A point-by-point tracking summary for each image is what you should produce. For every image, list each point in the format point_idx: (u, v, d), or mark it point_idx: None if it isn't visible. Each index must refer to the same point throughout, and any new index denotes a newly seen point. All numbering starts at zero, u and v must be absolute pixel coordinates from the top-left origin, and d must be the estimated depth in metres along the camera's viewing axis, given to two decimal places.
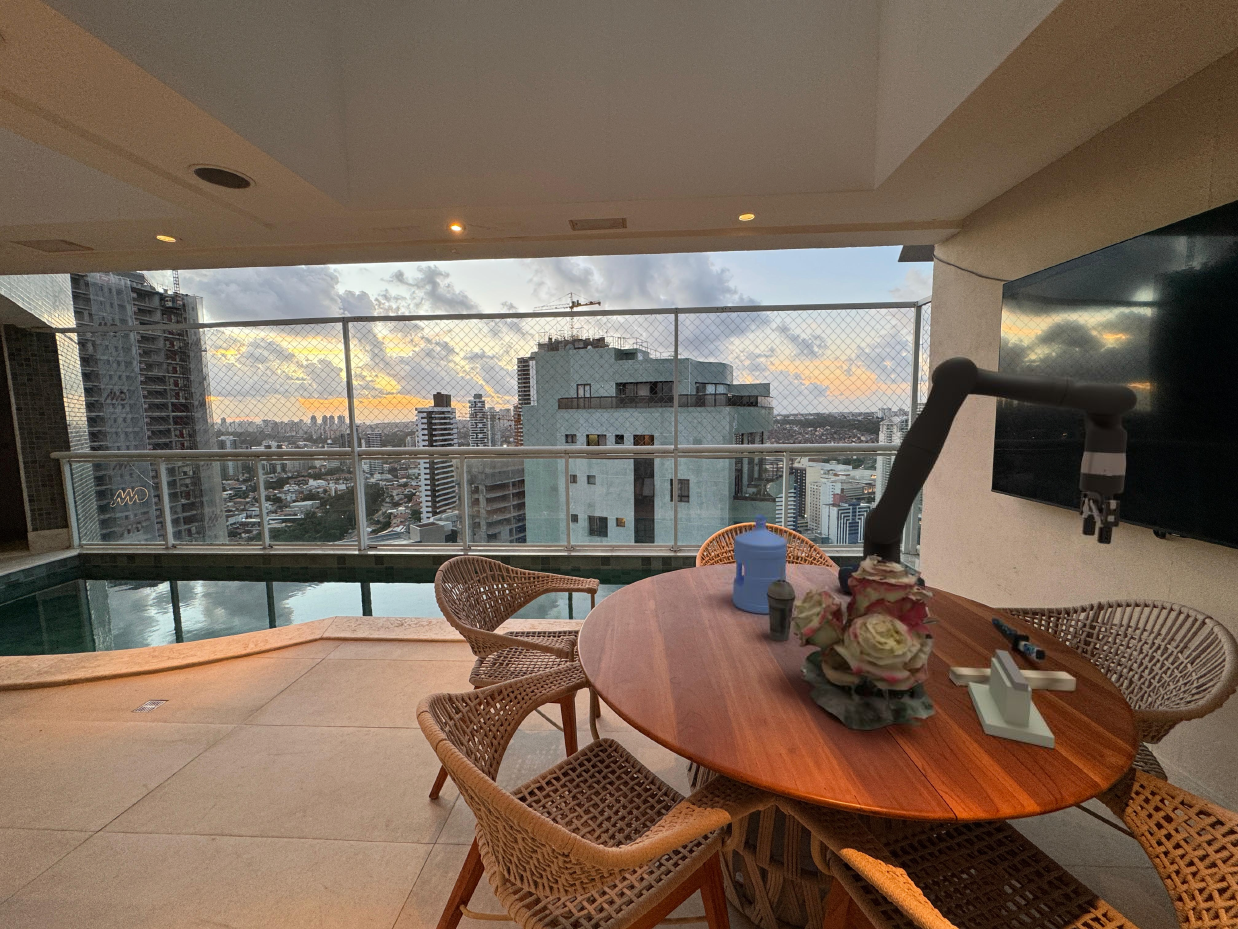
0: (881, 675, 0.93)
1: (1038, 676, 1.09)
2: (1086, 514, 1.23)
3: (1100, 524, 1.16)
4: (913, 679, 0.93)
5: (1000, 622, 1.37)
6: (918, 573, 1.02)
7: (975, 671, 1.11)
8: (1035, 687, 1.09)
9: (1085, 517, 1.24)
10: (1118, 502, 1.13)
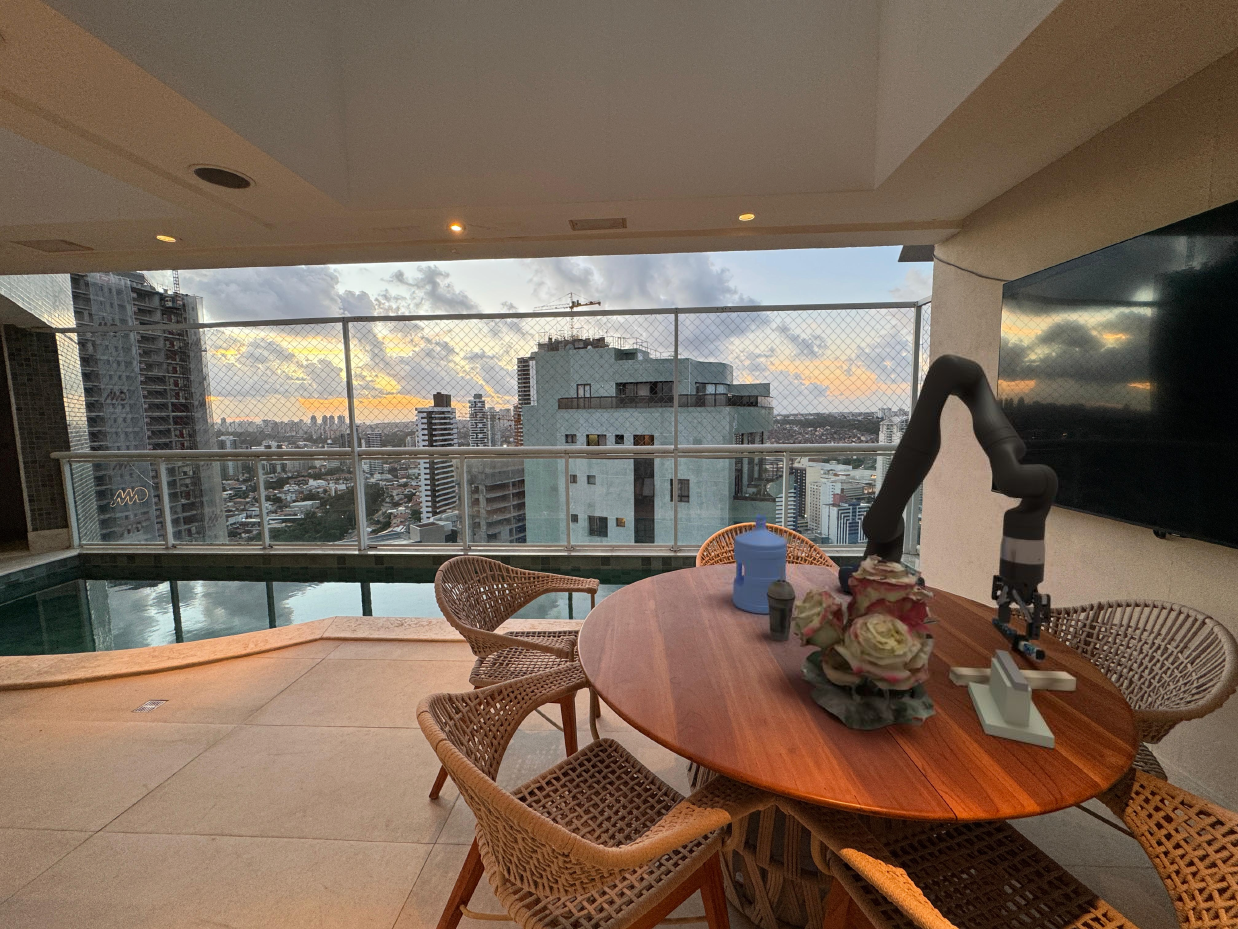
0: (882, 675, 0.93)
1: (1038, 676, 1.09)
2: None
3: None
4: (914, 679, 0.93)
5: None
6: (918, 573, 1.02)
7: (975, 671, 1.11)
8: (1035, 687, 1.09)
9: None
10: None
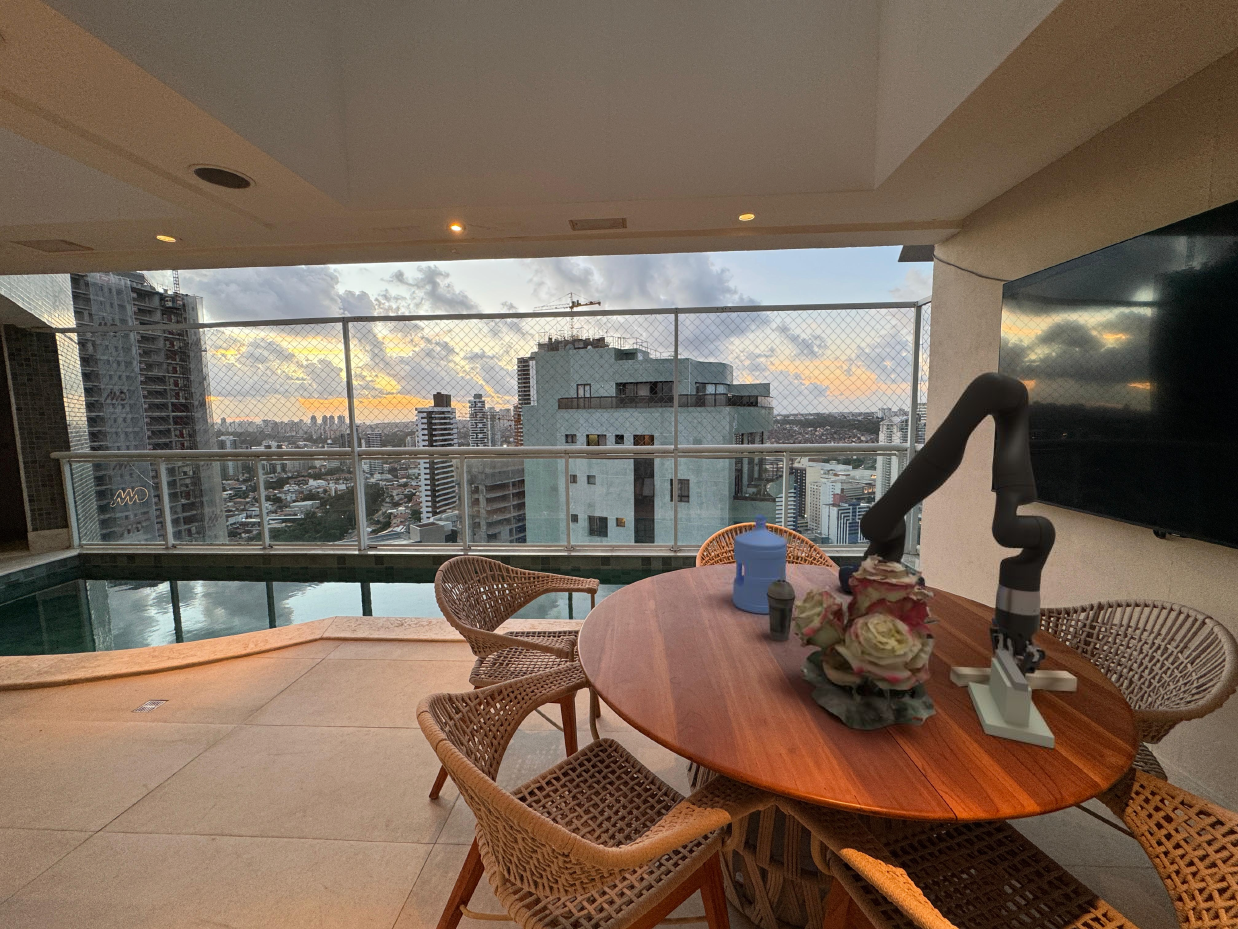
0: (882, 675, 0.93)
1: (1039, 675, 1.09)
2: None
3: None
4: (914, 679, 0.93)
5: None
6: (919, 573, 1.02)
7: (976, 671, 1.11)
8: (1036, 686, 1.09)
9: None
10: None
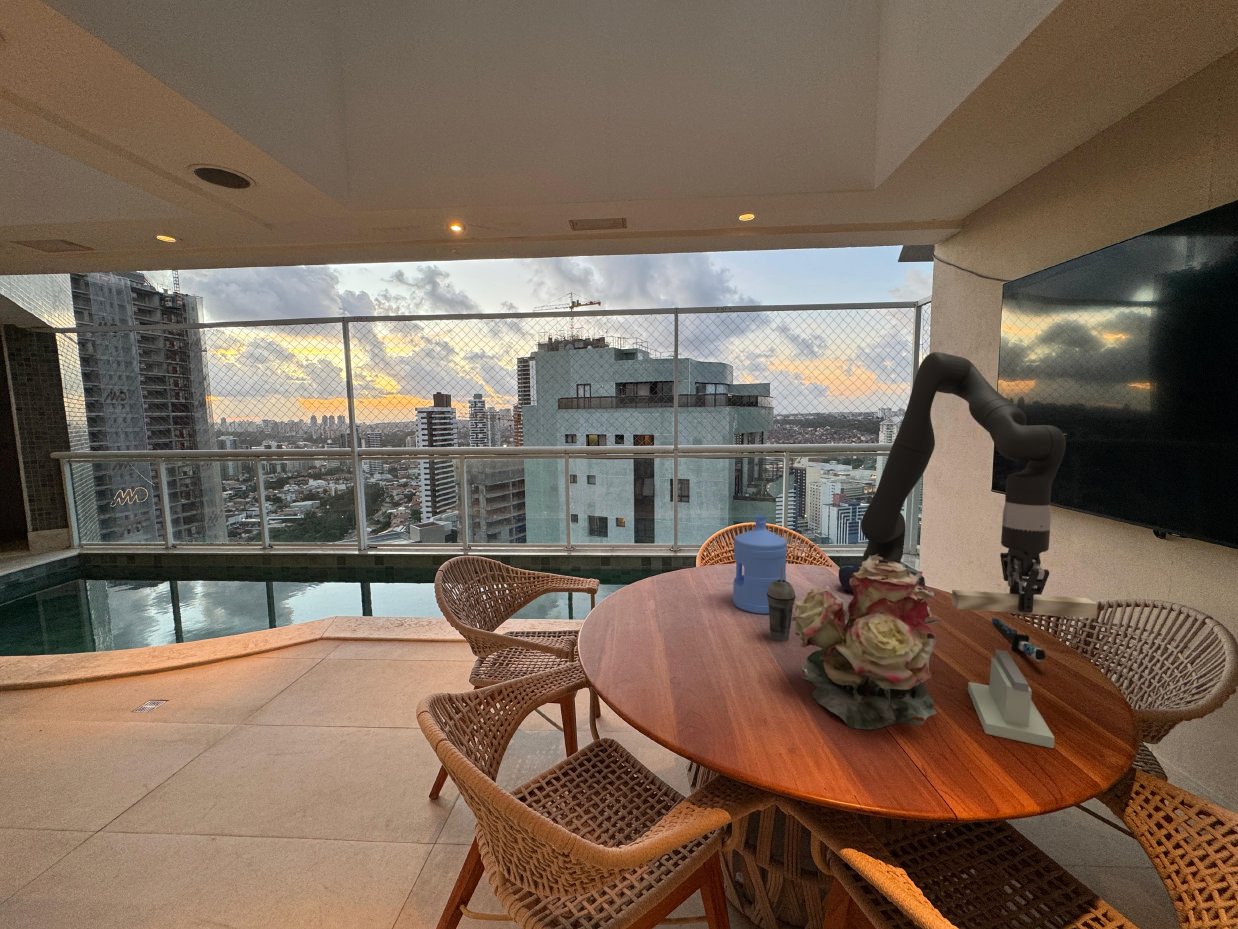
0: (883, 675, 0.93)
1: (1052, 600, 1.01)
2: None
3: None
4: (915, 679, 0.93)
5: (1000, 622, 1.37)
6: (919, 573, 1.02)
7: (980, 593, 1.04)
8: (1048, 611, 1.00)
9: None
10: None
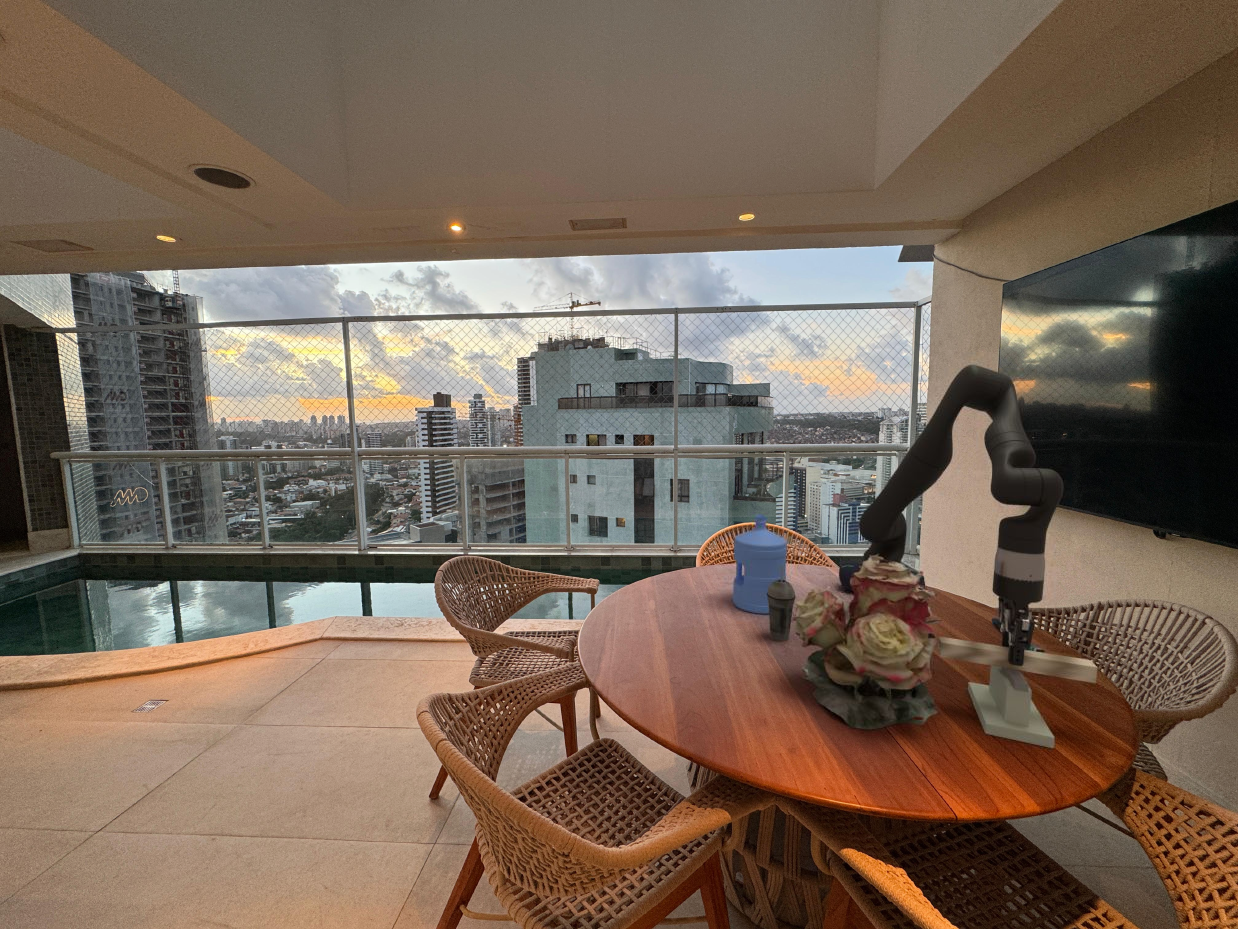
0: (884, 675, 0.93)
1: (1046, 658, 0.95)
2: None
3: None
4: (916, 678, 0.93)
5: None
6: (920, 573, 1.02)
7: (967, 643, 1.01)
8: (1041, 670, 0.95)
9: None
10: None
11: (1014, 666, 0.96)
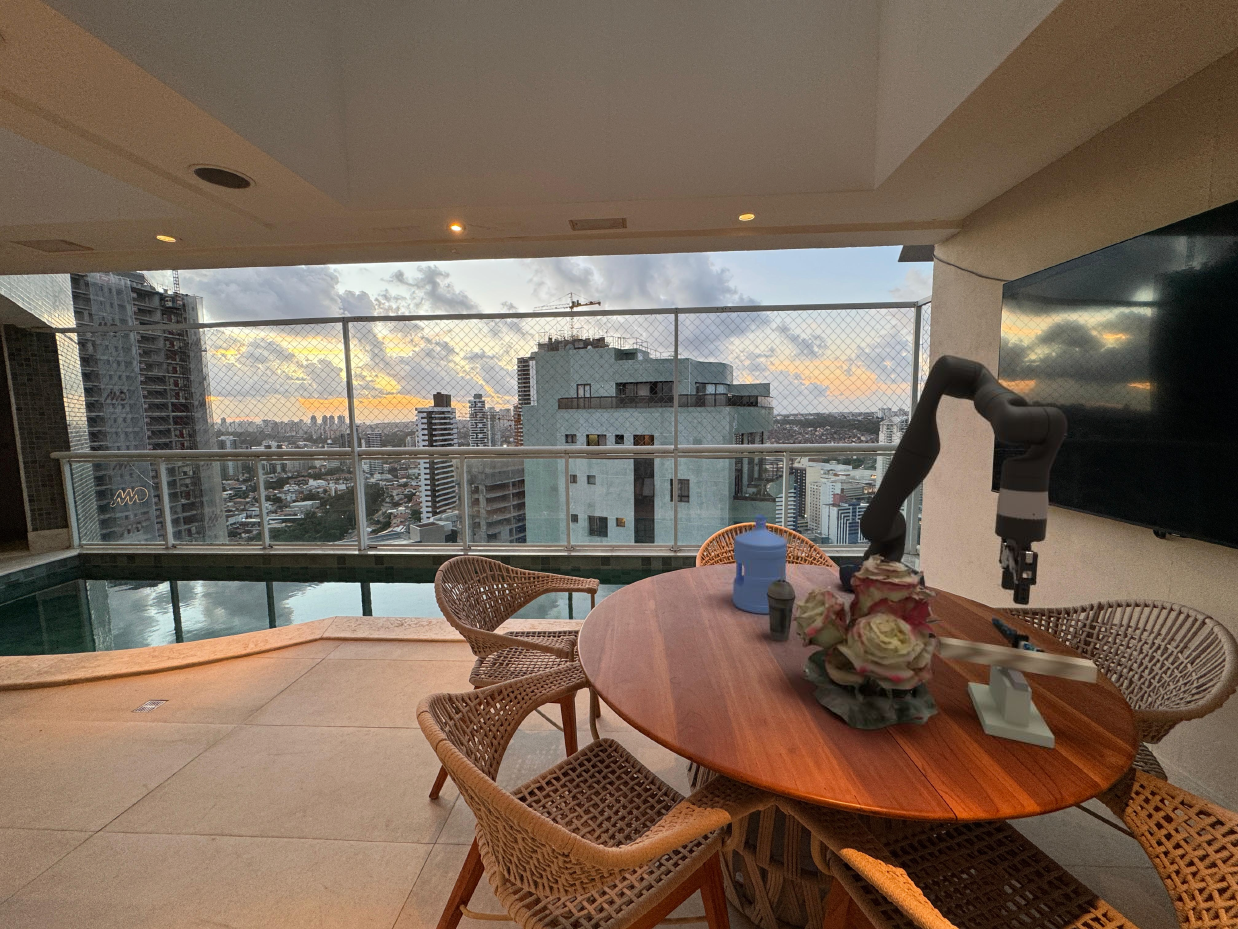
0: (885, 675, 0.93)
1: (1046, 658, 0.95)
2: None
3: None
4: (917, 678, 0.93)
5: (1000, 622, 1.37)
6: (921, 572, 1.02)
7: (967, 643, 1.01)
8: (1041, 670, 0.95)
9: None
10: None
11: (1014, 666, 0.96)
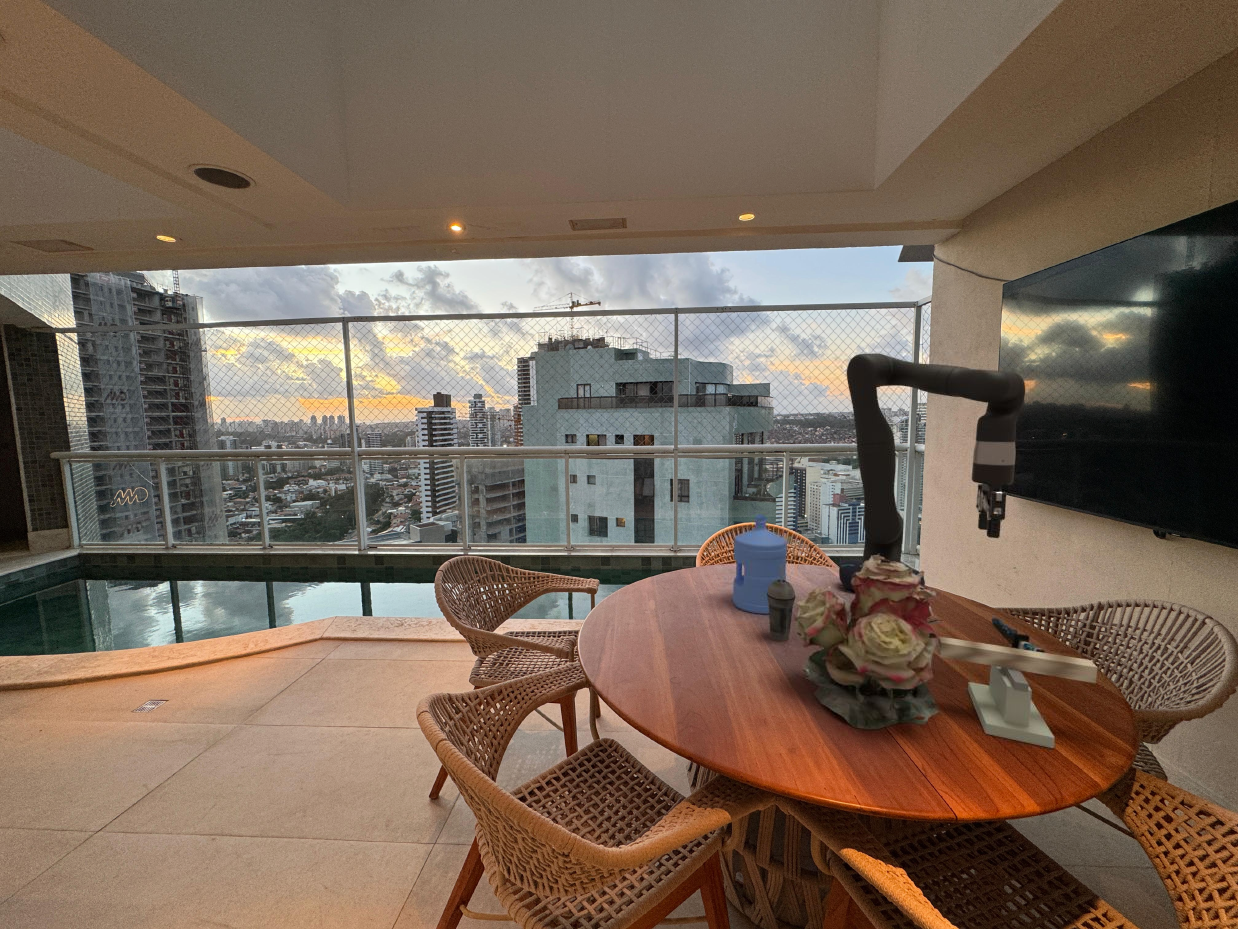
0: (886, 674, 0.93)
1: (1046, 658, 0.95)
2: None
3: None
4: (918, 678, 0.93)
5: (1000, 622, 1.37)
6: (921, 572, 1.02)
7: (967, 643, 1.01)
8: (1041, 670, 0.95)
9: None
10: None
11: (1014, 666, 0.96)
